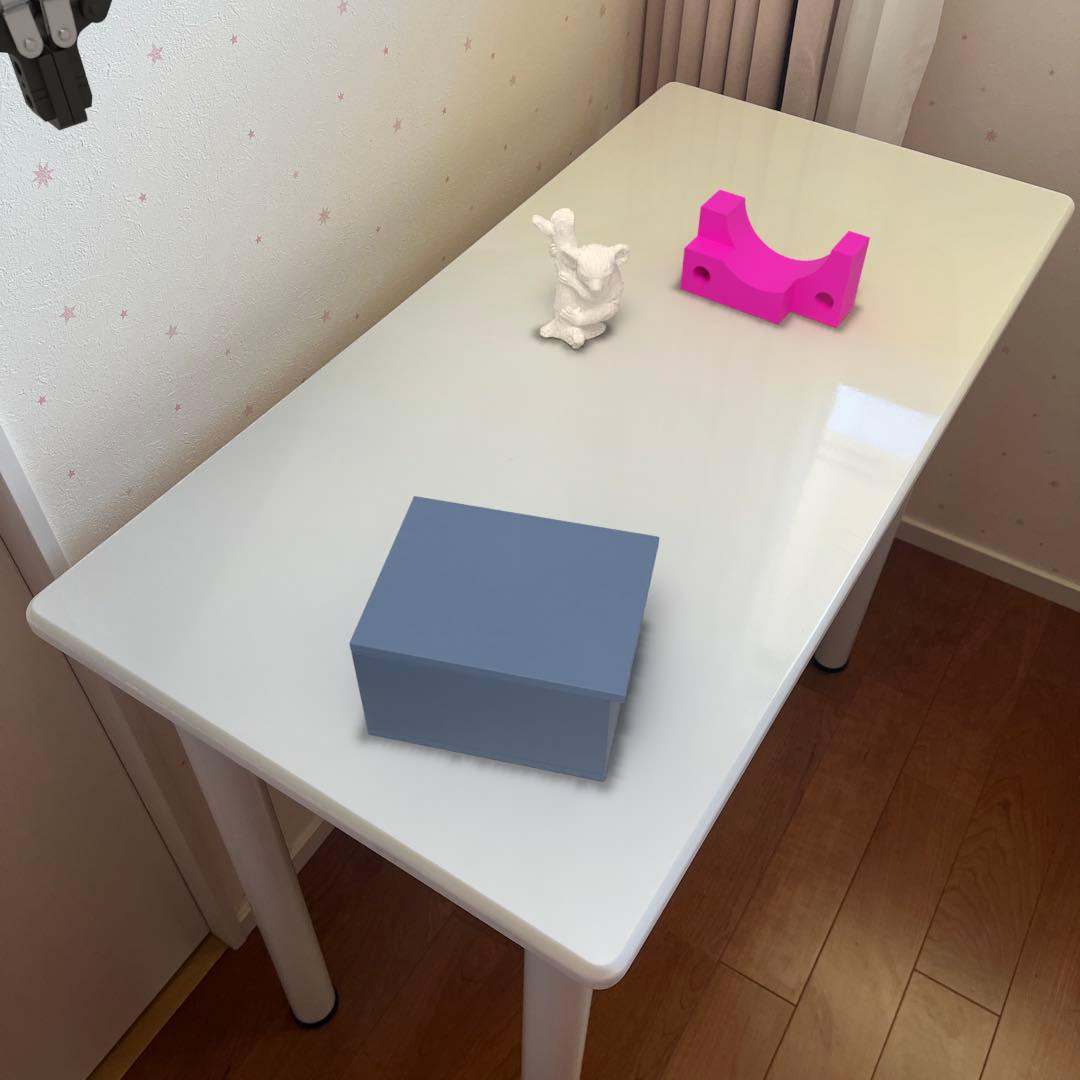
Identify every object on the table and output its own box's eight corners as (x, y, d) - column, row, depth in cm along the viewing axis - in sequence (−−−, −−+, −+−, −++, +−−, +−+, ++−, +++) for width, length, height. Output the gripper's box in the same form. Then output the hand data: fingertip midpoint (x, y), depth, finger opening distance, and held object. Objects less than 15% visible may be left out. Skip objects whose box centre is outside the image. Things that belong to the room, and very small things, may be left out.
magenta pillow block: (680, 288, 106) (687, 218, 100) (710, 258, 109) (719, 189, 104) (825, 341, 100) (841, 270, 95) (852, 308, 104) (870, 237, 98)
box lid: (658, 544, 71) (659, 536, 70) (624, 703, 63) (625, 695, 62) (414, 503, 74) (413, 495, 73) (350, 651, 65) (348, 643, 65)
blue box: (637, 628, 78) (646, 542, 71) (604, 782, 69) (610, 701, 63) (425, 590, 80) (415, 504, 74) (368, 734, 72) (350, 652, 65)
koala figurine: (522, 345, 100) (520, 227, 91) (546, 304, 104) (546, 187, 95) (611, 364, 98) (618, 245, 89) (632, 321, 102) (641, 204, 93)
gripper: (43, -346, 47) (149, 58, 60) (-292, -302, 41) (-96, 137, 54) (126, -320, 44) (220, 105, 56) (-229, -267, 38) (-34, 196, 50)
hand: (65, 120), depth 55 cm, fingers closed
